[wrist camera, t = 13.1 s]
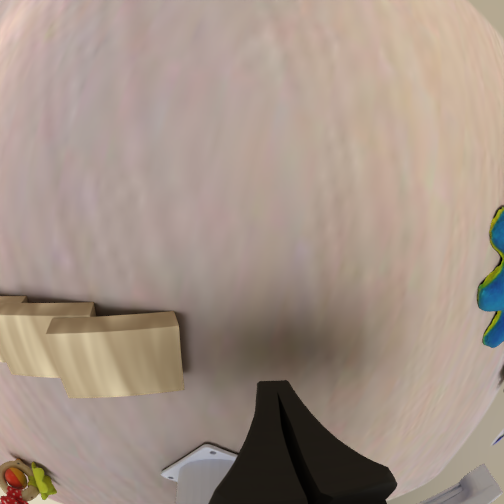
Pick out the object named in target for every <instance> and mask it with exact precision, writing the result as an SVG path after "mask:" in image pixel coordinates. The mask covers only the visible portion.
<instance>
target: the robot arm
mask: <svg viewBox="0 0 504 504" xmlns="http://www.w3.org/2000/svg"><path fill="white" fill-rule="evenodd" d="M161 476H163V477H165V478H167V479H170V480H173V481H175V482H177V492H176V502H175V504H387V503H386V499H387V498H388V497H389V495H390V494H391V493H392V492H393V491H394V490H395V489H396V487H397V482H396V480H395V478H394V476H393V474H392V473H391V471H390V470H389V468H388V467H386V466H383V465H381V464H379V463H376V462H374V461H372V460H370V459H368V458H366V457H364V456H362V455H360V454H359V453H357V452H356V451H354V450H353V449H351V448H350V447H348V446H347V445H345V444H344V443H342V442H341V441H340V440H338V439H337V438H336V437H335V436H334V435H332V434H331V433H330V432H329V431H328V430H327V429H326V428H325V427H324V426H323V425H322V424H321V423H320V422H319V421H318V420H317V419H316V418H315V417H314V416H313V415H312V414H311V412H310V411H309V410H308V409H307V407H306V406H305V405H304V404H303V402H302V401H301V400H300V398H299V397H298V396H297V394H296V393H295V391H294V390H293V388H292V387H291V385H290V383H289V382H288V381H287V380H284V381H260V382H258V383H257V394H256V407H255V414H254V418H253V421H252V424H251V427H250V430H249V432H248V435H247V437H246V440H245V442H244V444H243V446H242V448H241V450H240V452H239V454H238V455H236V454H234V453H231V452H228V451H225V450H223V449H220V448H218V447H215V446H213V445H210V444H204V445H202V446H201V447H199V448H198V449H196V450H195V451H193V452H192V453H190V454H189V455H187V456H186V457H184V458H183V459H181V460H179V461H178V462H176V463H175V464H173V465H171V466H170V467H168V468H167V469H165V470H163V471H162V472H161ZM502 493H503V492H502V490H501V488H500V487H499V485H498V484H497V482H496V481H495V479H494V478H493V476H492V475H491V473H490V472H489V470H488V469H487V467H486V466H485V464H482V465H480V466H479V467H477V468H475V469H474V470H472V471H471V472H469V473H468V474H467V475H466V476H464V477H463V479H461V480H460V482H459V483H457V484H455V485H454V486H452V487H450V488H448V489H446V490H444V491H442V492H440V493H439V494H437V495H435V496H432V497H430V498H428V499H426V500H424V501H422V502H420V503H418V504H490V503H492V502H493V501H494V500H495V499H496V498H498V497H499V496H500V495H501V494H502Z"/></svg>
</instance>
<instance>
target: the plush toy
mask: <svg viewBox="0 0 504 504" xmlns="http://www.w3.org/2000/svg"><path fill="white" fill-rule="evenodd" d="M489 233H490V243H491V245H492V247H493V248H494V249H495V250H496V251H498V253H499V254H500V255H501V256H502V258H503V259H502V263H501V265H500V266H497V268H496V269H495V270H494V271H493V272H491V273H490V274H489V275H488V276H487V278H486V279H485V281H484V283H483V284H481V285H479V287H478V295H477V301H478V306H479V308H480V309H482V310H484V311H489V312H490V311H498V312H497V315H496V316H495V318H494V319H493V322H492V324H491V325H490V326H489V327H488V330H487V331H486V332H485V334H484V336H483V343H484V345H486V346H489V347H492V348H495V347H497V346H498V345H499V344H501V343H502V342H503V341H504V207H502V209H499V210H498V212H497V215H496V217H495V218H494V219H492V223H491V227H490V231H489Z"/></svg>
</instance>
